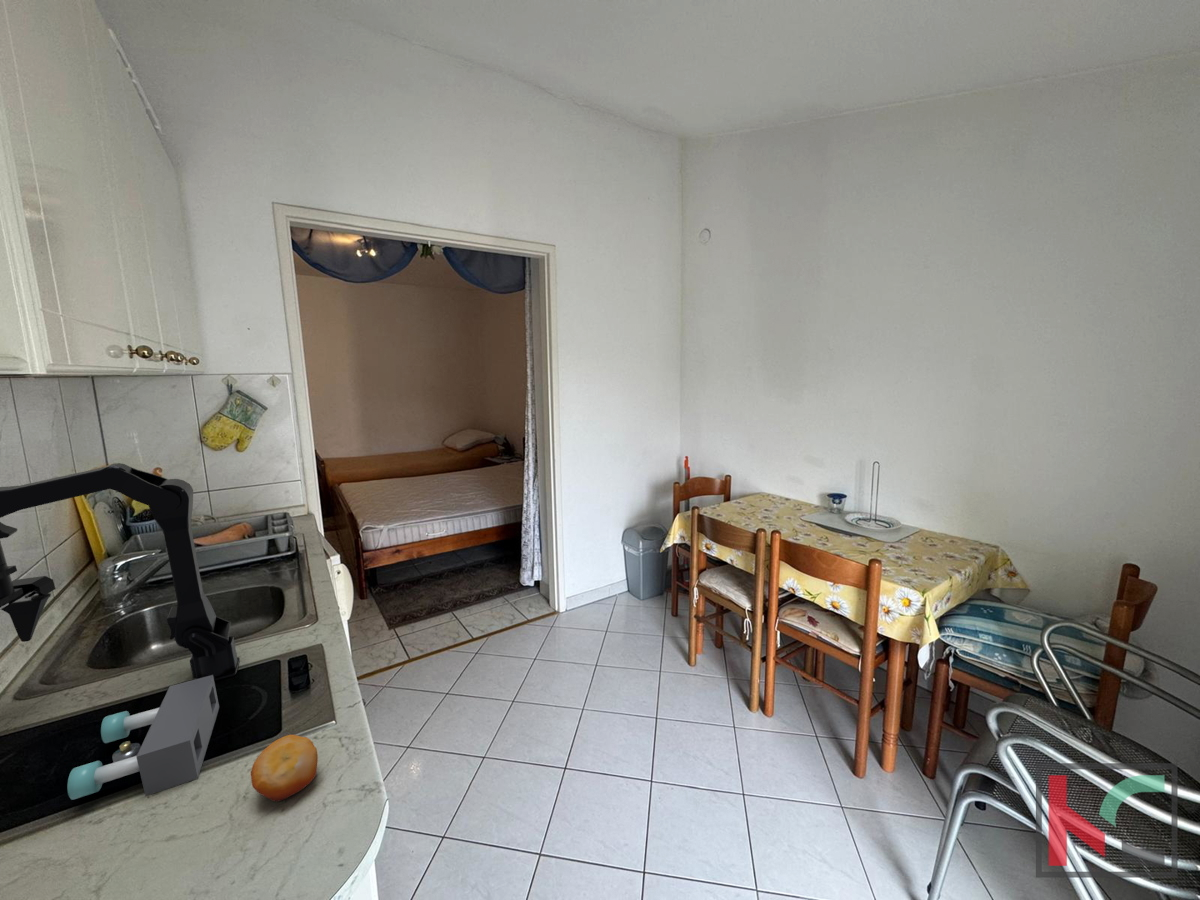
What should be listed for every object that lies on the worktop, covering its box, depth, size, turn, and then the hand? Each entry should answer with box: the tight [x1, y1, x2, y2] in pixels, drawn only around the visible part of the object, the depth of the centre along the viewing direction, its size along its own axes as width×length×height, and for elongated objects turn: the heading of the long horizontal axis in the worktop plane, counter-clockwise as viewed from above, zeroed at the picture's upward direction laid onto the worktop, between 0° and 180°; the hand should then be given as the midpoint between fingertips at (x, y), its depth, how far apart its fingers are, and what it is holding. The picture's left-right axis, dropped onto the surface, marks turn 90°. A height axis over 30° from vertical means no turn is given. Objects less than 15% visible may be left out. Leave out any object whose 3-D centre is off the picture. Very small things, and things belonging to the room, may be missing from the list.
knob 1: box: [100, 707, 160, 744], centre depth 82 cm, size 9×4×4 cm, turn 119°
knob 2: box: [66, 756, 140, 801], centre depth 72 cm, size 9×4×4 cm, turn 119°
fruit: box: [250, 734, 319, 802], centre depth 72 cm, size 8×8×8 cm
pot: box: [111, 740, 142, 763], centre depth 77 cm, size 3×3×4 cm
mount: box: [136, 675, 220, 797], centre depth 80 cm, size 6×18×6 cm, turn 29°
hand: (5, 655), depth 83 cm, fingers open, 9 cm apart
